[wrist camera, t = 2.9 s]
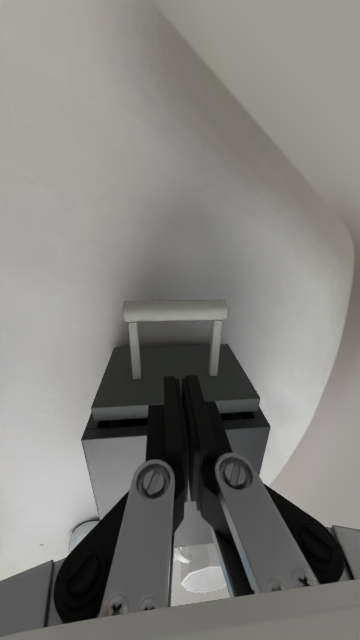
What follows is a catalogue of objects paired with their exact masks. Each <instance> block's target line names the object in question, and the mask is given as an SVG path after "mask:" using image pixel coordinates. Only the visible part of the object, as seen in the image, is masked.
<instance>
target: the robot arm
mask: <svg viewBox="0 0 360 640" xmlns="http://www.w3.org/2000/svg"><path fill="white" fill-rule="evenodd" d="M188 482H189V490H190V497H191V502H194V501H196V505H197V511H200V512H201V517H202V518H203V519H204V520H205V521H206V522H207V523H208V524H209V525H210V531H211V534H212V538H213V541H214V544H215V548H216V551H217V555H218V558H219V561H220V565H221V568H222V571H223V575H224V578H225V581H226V585H227V588H228V592H229V595H230V598H226V599H219V600H212V601H206V602H199V603H193V604H186V605H179V606H173V607H171V592H172V575H173V558H174V541H175V532H176V530H177V529H178V527H179V525H180V524H181V522H182V521H183V519H184V503H185V502H187V494H188ZM0 640H360V530H358V529H352V528H347V527H341V526H335V525H333V526H332V528H328V527H324V526H323V525H322V524H321V523H320V522H319V521H317V520H316V519H314V518H313V517H311V516H310V515H308V514H307V513H305V512H304V511H302V510H301V509H300V508H298V507H297V506H295V505H294V504H293V503H291V502H290V501H288V500H287V499H285V498H284V497H282V496H281V495H279V494H278V493H277V492H275V491H274V490H272V489H271V488H269V487H268V486H267V485H265V484H264V483H263V482H262V480H261V479H260V477H259V475H258V473H257V472H256V470H255V468H254V466H253V465H252V464H251V462H250V461H249V460H248V459H246V458H245V457H244V456H242V455H240V454H236V453H233V452H232V449H231V446H230V443H229V440H228V437H227V434H226V431H225V428H224V425H223V422H222V419H221V416H220V413H219V411H218V408H217V405H216V402H215V401H208V402H205V401H204V398H203V394H202V390H201V387H200V383H199V380H198V376H197V375H186V378H182V397H181V390H180V383H179V379H175V376H164V404H160V405H149V406H148V423H147V442H146V461H145V462H144V463H143V464H142V465H140V466H139V467H138V469H137V470H136V471H135V473H134V476H133V478H132V482H131V486H130V490H129V491H128V492H127V493H126V494H125V495H124V496H123V497H122V498H121V499H120V500H119V501H118V503H117V504H116V505H115V506H114V507H113V508H112V509H111V510H110V511H109V512H108V513H107V514H106V515H105V516H104V517H103V518H102V519H101V520H100V522H99V523H98V524H97V525H96V526H95V527H94V528H93V529H92V530H91V531H90V532H89V533H88V534H87V535H86V536H85V537H84V538H83V539H82V541H81V542H80V543H79V544H78V545H77V546H76V547H75V548H74V549H73V550H72V551H71V552H70V554H69V555H68V556H67V557H66V558H64V559H62V560H59V561H57V562H54V561H53V560H51V561H48V562H46V563H43V564H41V565H39V566H36V567H34V568H31V569H29V570H26V571H24V572H21V573H19V574H17V575H14V576H12V577H9V578H7V579H4V580H2V581H0Z"/></svg>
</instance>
